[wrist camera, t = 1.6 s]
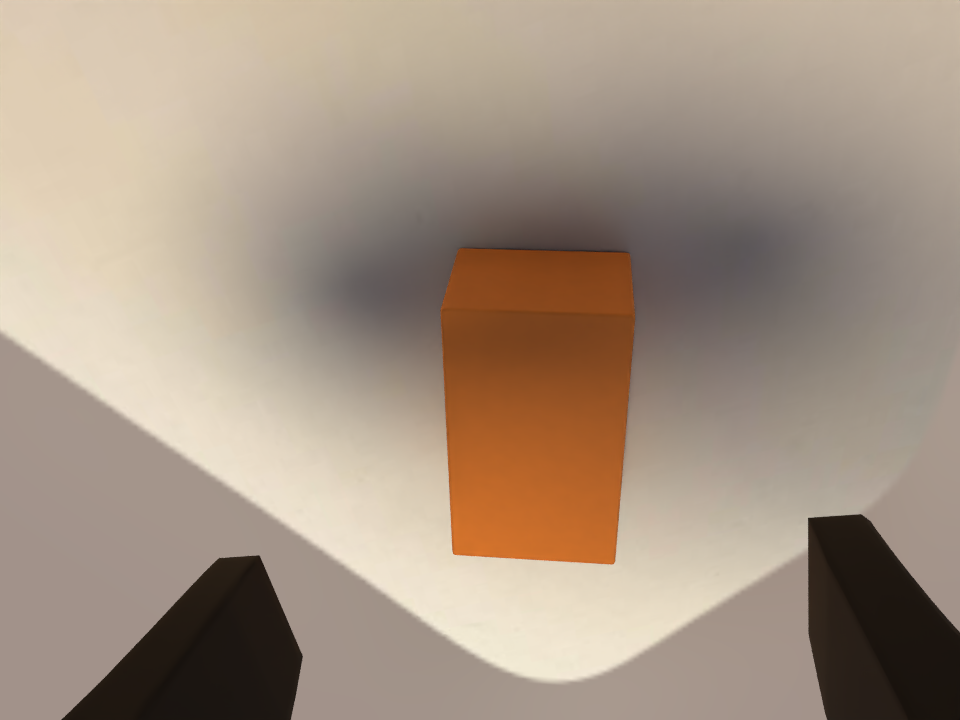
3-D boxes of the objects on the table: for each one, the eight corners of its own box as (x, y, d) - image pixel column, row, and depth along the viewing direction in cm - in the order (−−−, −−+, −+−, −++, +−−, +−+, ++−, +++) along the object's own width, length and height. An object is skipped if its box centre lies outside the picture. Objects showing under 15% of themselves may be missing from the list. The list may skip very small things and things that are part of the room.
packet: (630, 251, 21) (635, 315, 18) (612, 486, 24) (614, 565, 22) (457, 247, 21) (439, 308, 19) (466, 478, 25) (452, 555, 22)
